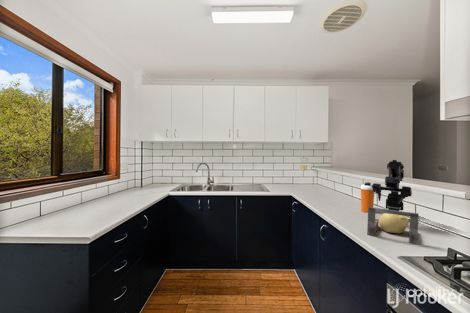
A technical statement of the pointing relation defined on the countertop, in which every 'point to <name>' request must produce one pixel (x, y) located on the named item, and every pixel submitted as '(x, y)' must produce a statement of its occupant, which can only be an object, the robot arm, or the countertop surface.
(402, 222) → the pale yellow round lump
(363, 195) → the shaker bottle
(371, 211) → the channel
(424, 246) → the countertop surface
